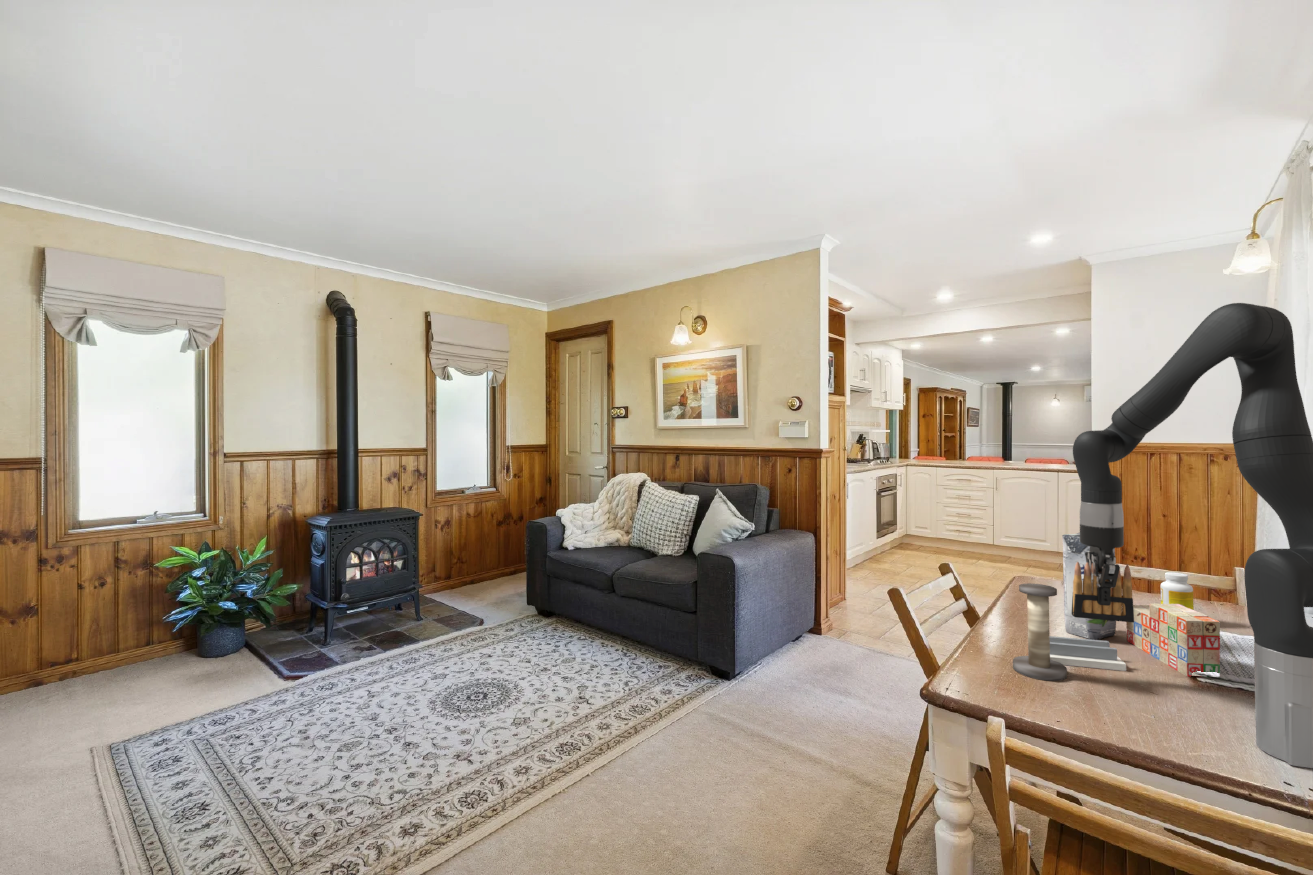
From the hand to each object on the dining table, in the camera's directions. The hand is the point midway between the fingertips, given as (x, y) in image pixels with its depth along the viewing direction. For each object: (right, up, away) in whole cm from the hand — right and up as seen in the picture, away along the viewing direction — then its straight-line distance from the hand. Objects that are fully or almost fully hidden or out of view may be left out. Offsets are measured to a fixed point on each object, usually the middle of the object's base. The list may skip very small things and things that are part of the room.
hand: (1101, 602), depth 125 cm
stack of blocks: (+22, -15, +8) cm, 28 cm away
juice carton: (+16, -15, +25) cm, 33 cm away
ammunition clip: (0, -4, 0) cm, 4 cm away
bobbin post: (-12, -16, +3) cm, 20 cm away
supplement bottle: (+46, -15, +33) cm, 58 cm away
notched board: (+1, -16, +9) cm, 18 cm away
